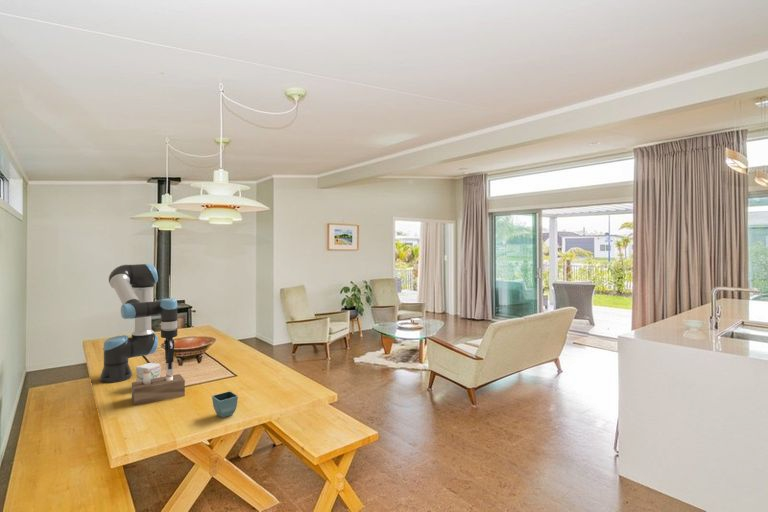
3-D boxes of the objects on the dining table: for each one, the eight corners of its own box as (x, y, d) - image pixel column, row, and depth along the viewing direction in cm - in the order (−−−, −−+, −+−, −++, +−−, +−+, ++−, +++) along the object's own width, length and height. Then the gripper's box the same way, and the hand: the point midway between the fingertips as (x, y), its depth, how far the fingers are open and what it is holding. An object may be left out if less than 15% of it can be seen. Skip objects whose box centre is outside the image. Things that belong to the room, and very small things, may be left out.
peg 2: (165, 390, 210) (165, 374, 209) (172, 388, 212) (172, 373, 211) (166, 392, 207) (166, 376, 207) (173, 390, 209) (173, 375, 209)
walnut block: (131, 397, 205) (131, 382, 204) (179, 388, 218) (179, 374, 218) (134, 405, 195) (134, 389, 195) (184, 395, 208) (184, 380, 208)
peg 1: (143, 386, 204) (142, 371, 203) (150, 385, 205) (150, 369, 205) (143, 388, 201) (143, 372, 201) (151, 387, 203) (151, 371, 203)
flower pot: (211, 414, 187) (211, 395, 186) (230, 409, 193) (230, 390, 192) (219, 421, 180) (219, 401, 180) (238, 415, 186) (238, 396, 186)
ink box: (147, 390, 215) (147, 368, 214) (135, 388, 218) (135, 366, 217) (161, 385, 223) (161, 364, 223) (149, 383, 226) (149, 362, 225)
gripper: (158, 327, 211) (159, 372, 212) (163, 332, 201) (163, 379, 201) (174, 326, 216) (175, 370, 216) (179, 330, 205) (180, 376, 206)
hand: (169, 374), depth 209 cm, fingers closed
